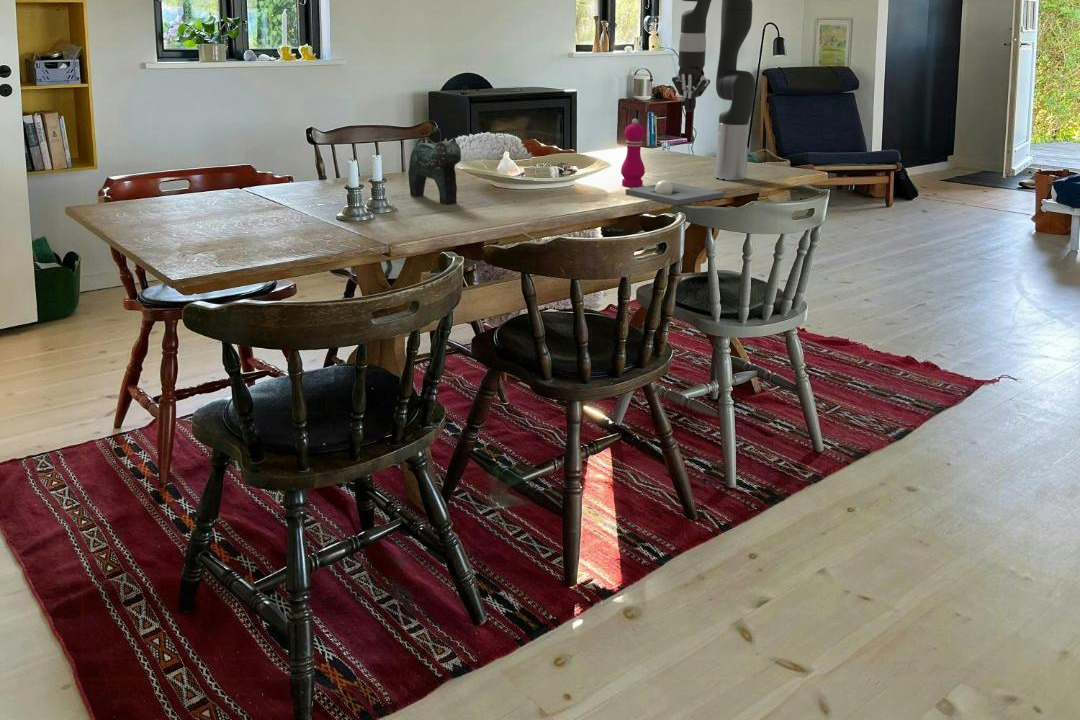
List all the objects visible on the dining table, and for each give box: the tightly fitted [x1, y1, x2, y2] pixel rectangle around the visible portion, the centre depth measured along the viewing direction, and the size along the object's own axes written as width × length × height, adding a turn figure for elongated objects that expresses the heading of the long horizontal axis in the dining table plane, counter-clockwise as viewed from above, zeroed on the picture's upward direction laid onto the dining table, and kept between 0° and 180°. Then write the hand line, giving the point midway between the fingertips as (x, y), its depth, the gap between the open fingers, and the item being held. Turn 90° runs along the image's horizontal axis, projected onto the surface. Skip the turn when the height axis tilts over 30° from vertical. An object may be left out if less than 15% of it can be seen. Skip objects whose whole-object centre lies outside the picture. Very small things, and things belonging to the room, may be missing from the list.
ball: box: [655, 179, 673, 195], centre depth 303 cm, size 5×5×5 cm
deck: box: [625, 181, 725, 206], centre depth 307 cm, size 20×20×2 cm
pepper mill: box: [620, 118, 646, 188], centre depth 318 cm, size 7×7×20 cm
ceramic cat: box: [407, 127, 462, 206], centre depth 292 cm, size 20×6×20 cm, turn 42°
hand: (689, 111), depth 307 cm, fingers closed
